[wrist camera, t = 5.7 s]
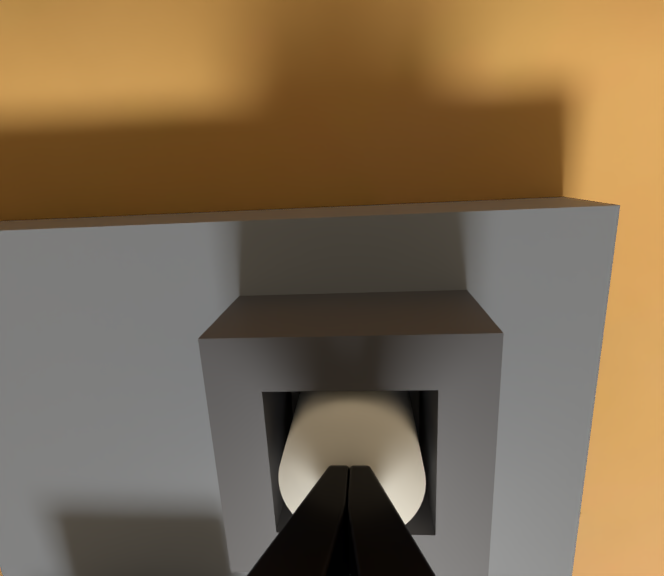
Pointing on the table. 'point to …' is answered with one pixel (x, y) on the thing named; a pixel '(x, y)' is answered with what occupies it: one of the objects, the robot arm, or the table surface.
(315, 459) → the button
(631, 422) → the table surface
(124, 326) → the console
